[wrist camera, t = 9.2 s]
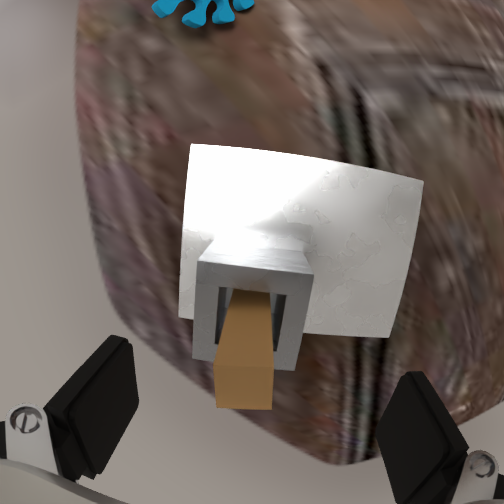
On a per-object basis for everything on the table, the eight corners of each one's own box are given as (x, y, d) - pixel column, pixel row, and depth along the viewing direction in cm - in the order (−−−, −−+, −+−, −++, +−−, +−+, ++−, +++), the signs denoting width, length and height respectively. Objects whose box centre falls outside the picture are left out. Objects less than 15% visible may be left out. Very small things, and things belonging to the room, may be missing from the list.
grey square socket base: (418, 180, 19) (465, 183, 13) (385, 332, 21) (414, 373, 16) (193, 145, 19) (167, 132, 13) (181, 312, 22) (157, 353, 16)
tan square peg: (269, 279, 20) (274, 367, 10) (268, 309, 20) (271, 409, 11) (236, 278, 20) (212, 365, 10) (236, 308, 20) (216, 407, 11)
